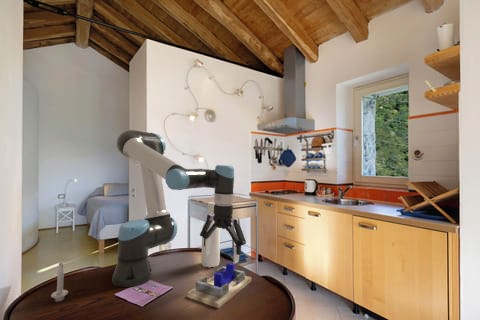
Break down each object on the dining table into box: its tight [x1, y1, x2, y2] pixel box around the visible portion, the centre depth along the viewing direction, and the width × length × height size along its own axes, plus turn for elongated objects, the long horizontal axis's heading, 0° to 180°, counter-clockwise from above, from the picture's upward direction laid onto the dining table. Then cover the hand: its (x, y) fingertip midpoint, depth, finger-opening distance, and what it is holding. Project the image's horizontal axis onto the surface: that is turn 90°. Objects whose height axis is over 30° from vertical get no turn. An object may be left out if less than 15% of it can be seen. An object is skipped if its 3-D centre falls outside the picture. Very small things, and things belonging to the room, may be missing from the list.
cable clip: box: [213, 262, 236, 287], centre depth 99 cm, size 12×4×6 cm, turn 157°
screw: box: [50, 261, 69, 303], centre depth 88 cm, size 13×5×5 cm
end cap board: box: [186, 265, 253, 309], centre depth 98 cm, size 14×24×4 cm, turn 150°
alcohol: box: [200, 201, 221, 269], centre depth 122 cm, size 9×9×30 cm
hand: (221, 258), depth 99 cm, fingers open, 13 cm apart
